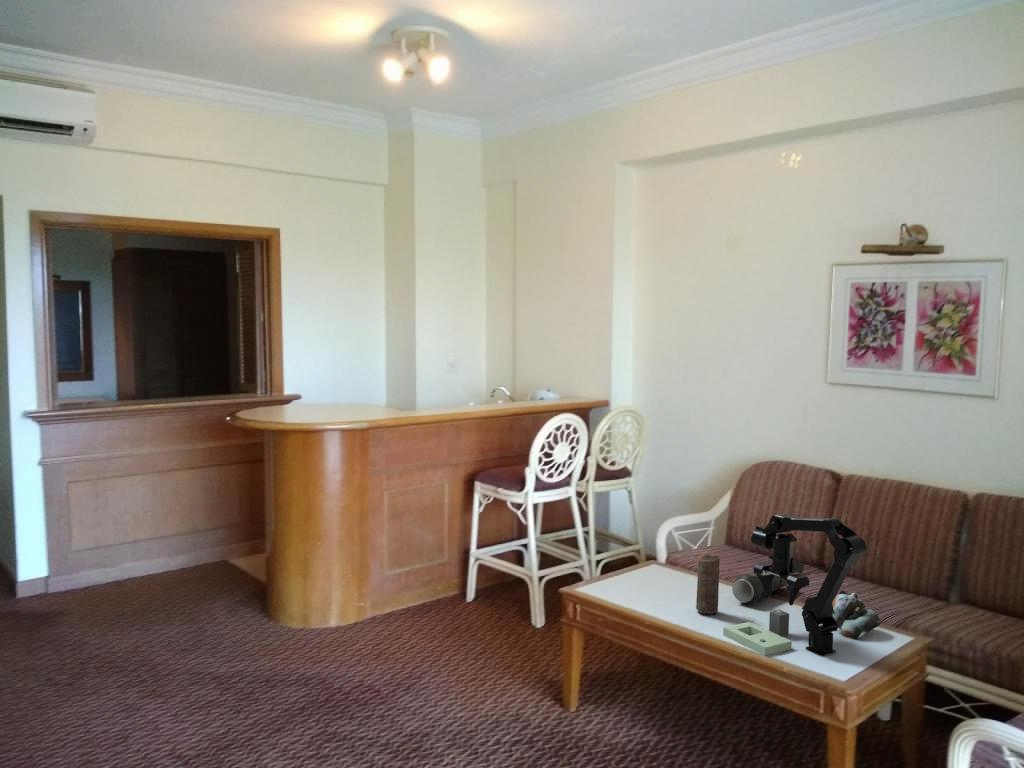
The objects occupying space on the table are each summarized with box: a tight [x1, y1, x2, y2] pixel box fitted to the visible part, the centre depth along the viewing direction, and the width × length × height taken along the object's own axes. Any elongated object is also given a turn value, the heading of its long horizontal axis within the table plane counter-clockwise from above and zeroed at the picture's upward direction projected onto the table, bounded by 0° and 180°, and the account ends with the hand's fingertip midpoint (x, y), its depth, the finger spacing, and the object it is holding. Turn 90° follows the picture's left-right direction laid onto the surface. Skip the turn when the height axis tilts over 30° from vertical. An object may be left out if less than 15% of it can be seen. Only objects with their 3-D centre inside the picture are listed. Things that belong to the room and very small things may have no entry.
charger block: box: [768, 609, 790, 637], centre depth 258 cm, size 4×4×7 cm
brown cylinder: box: [695, 553, 721, 615], centre depth 276 cm, size 8×7×20 cm
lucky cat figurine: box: [832, 590, 882, 640], centre depth 261 cm, size 15×12×14 cm
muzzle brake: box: [731, 571, 788, 604], centre depth 293 cm, size 10×28×10 cm, turn 135°
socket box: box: [722, 621, 793, 656], centre depth 251 cm, size 18×11×3 cm, turn 27°
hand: (780, 600), depth 257 cm, fingers open, 9 cm apart
